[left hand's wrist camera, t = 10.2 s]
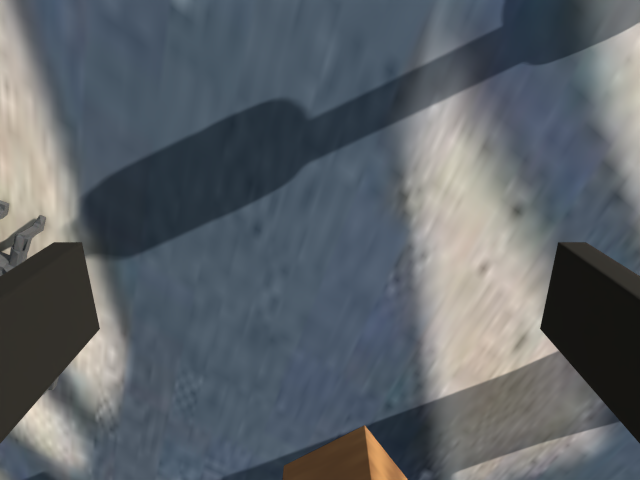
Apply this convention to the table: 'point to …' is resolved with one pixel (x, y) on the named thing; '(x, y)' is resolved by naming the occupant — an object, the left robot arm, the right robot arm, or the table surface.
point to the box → (345, 461)
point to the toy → (20, 250)
